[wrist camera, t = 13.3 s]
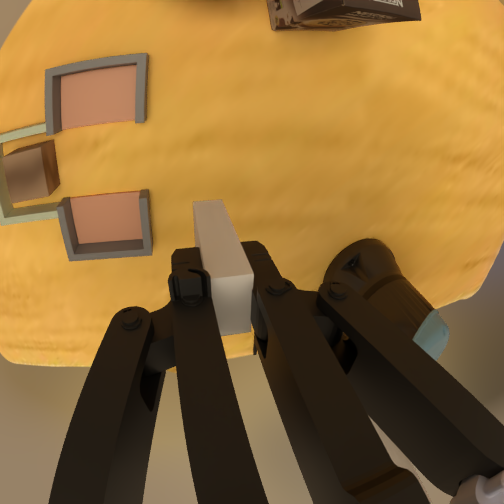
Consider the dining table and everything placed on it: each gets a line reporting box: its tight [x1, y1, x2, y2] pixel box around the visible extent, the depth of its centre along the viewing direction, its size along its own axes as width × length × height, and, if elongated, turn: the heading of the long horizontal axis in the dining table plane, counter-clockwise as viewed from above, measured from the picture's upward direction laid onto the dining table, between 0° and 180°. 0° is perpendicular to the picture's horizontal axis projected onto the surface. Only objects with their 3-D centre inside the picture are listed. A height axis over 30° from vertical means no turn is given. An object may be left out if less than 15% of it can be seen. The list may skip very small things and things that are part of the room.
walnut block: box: [2, 140, 60, 204], centre depth 26 cm, size 6×6×4 cm
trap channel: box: [0, 53, 153, 261], centre depth 28 cm, size 25×22×3 cm
